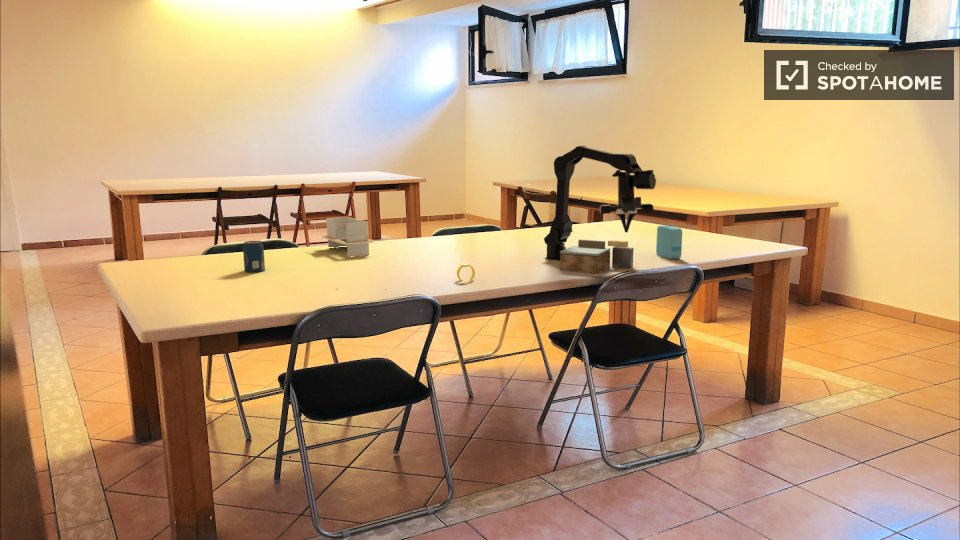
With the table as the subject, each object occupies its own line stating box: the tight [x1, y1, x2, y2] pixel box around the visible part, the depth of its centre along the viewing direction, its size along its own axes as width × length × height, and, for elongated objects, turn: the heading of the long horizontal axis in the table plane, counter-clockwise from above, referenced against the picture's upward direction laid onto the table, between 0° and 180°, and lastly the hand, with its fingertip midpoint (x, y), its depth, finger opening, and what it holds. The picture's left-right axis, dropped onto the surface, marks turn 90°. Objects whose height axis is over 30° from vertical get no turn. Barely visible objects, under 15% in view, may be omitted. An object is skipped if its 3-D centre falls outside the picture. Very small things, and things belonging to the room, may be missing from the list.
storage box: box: [559, 250, 611, 275], centre depth 264 cm, size 14×14×6 cm
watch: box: [456, 263, 476, 282], centre depth 243 cm, size 6×3×6 cm, turn 113°
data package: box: [655, 225, 683, 260], centre depth 287 cm, size 12×4×12 cm, turn 15°
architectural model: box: [321, 216, 375, 258], centre depth 296 cm, size 26×13×15 cm, turn 31°
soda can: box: [242, 240, 266, 274], centre depth 255 cm, size 7×7×12 cm
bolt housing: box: [611, 246, 635, 269], centre depth 267 cm, size 7×3×7 cm, turn 62°
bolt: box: [607, 239, 629, 247], centre depth 267 cm, size 7×2×2 cm, turn 62°
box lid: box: [560, 239, 611, 256], centre depth 263 cm, size 14×14×3 cm
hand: (626, 232), depth 264 cm, fingers closed
